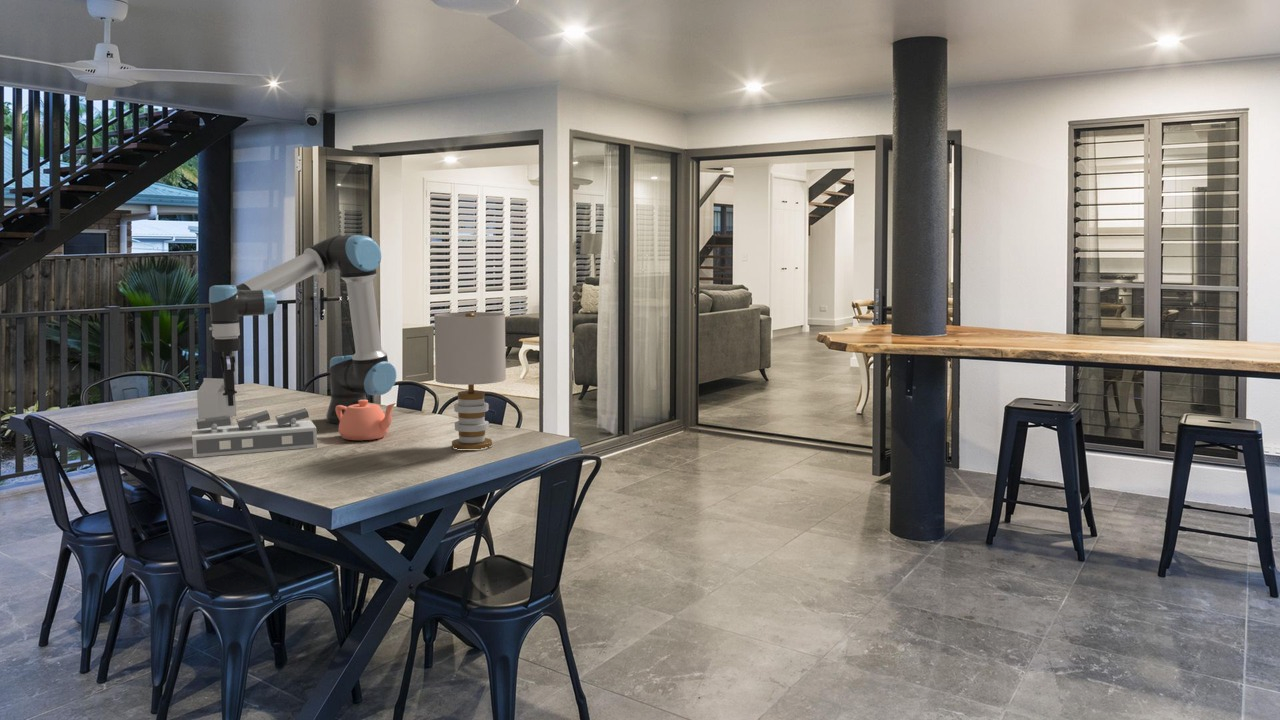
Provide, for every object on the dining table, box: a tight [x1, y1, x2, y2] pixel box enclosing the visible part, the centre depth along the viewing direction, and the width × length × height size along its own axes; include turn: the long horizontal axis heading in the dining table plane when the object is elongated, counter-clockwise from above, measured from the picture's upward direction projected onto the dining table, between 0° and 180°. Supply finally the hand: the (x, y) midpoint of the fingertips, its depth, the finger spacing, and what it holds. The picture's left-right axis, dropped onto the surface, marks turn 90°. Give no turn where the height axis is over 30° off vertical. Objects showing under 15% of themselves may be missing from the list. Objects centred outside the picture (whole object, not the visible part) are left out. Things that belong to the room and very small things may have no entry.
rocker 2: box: [274, 408, 310, 425], centre depth 285 cm, size 9×6×3 cm
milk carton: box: [196, 377, 234, 427], centre depth 295 cm, size 7×7×19 cm
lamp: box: [433, 311, 507, 449], centre depth 281 cm, size 21×21×41 cm
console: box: [191, 419, 318, 458], centre depth 280 cm, size 34×15×7 cm, turn 116°
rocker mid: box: [236, 409, 271, 429], centre depth 280 cm, size 9×6×3 cm
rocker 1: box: [195, 416, 231, 429], centre depth 275 cm, size 9×6×3 cm
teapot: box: [335, 399, 397, 441], centre depth 295 cm, size 22×15×12 cm
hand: (231, 416), depth 277 cm, fingers closed
